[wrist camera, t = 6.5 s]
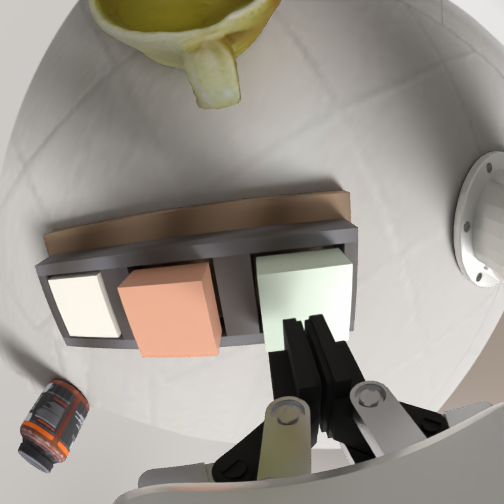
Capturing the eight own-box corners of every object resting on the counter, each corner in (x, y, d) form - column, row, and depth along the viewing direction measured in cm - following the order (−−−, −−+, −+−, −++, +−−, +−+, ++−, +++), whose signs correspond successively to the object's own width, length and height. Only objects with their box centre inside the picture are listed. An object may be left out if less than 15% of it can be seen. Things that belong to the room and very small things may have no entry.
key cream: (112, 261, 17) (96, 275, 15) (130, 319, 19) (118, 337, 17) (65, 267, 18) (47, 280, 15) (83, 319, 19) (70, 335, 17)
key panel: (343, 190, 17) (364, 198, 14) (343, 321, 20) (356, 348, 17) (52, 231, 18) (25, 245, 15) (88, 337, 21) (71, 360, 18)
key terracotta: (208, 262, 15) (201, 280, 13) (221, 331, 17) (218, 355, 14) (133, 270, 15) (117, 287, 13) (153, 334, 17) (142, 357, 15)
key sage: (338, 247, 15) (352, 263, 13) (337, 317, 16) (348, 340, 14) (255, 257, 15) (257, 275, 13) (263, 327, 17) (265, 351, 14)
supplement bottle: (43, 372, 23) (-1, 436, 13) (78, 381, 23) (35, 456, 13) (63, 405, 25) (30, 467, 15) (98, 415, 25) (67, 485, 15)
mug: (113, -23, 10) (96, -95, 1) (249, -29, 12) (314, -88, 4) (110, 121, 16) (69, 133, 8) (250, 106, 19) (325, 110, 10)
